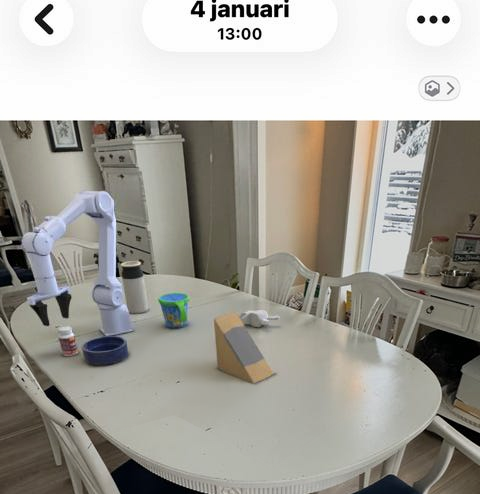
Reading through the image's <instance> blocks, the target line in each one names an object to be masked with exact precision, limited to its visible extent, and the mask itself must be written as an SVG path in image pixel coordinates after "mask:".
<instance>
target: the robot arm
mask: <svg viewBox="0 0 480 494" xmlns="http://www.w3.org/2000/svg"><path fill="white" fill-rule="evenodd" d="M83 214H85V215H87V217H89V218H91V219H92V220H93V221H94V222H95V224H96V225H97V226H98V228H97V229H98V276H97V278H96V279H94V281H93V286H92V287H93V288H92V290H91V298H92V301H93V302H94V303H95V304H96V306H97V307H98V309H99V310H98V311H99V315H100V321H101V325H102V328H100V331H101V332H102V333H103V334H104V336H117V335H121V334H125V333H126V334H127V333H130V332H133V328H132V322H131V316H130V312H129V311H128V308H127V304H125V303H123V302H124V301H125V300H124V299H125V298H124V297H125V294H124V292H123V284H122V283H121V282H120V281H119V280H118V279H117V276H116V275H117V274H116V273H117V268H116V267H117V219H116V215H115V201H114V199H113V198H112V197H111V195H110V194H109V193H108V192H107V191H105V190H100V191H99V190H97V191H93V190H81V191H79V192H78V193H77V194H75V195H74V196H73V199H72V200H71V201H70V202H69V203H68V204H67V205H66V206H65V207H64V209H63V210H61V211H60V213H59V214H57V216H55V215H46V216H45V217H44V221H42V222H41V223H40V224H39V225H38V226H34V227H33V231H30V232H25V234H24V235H23V236H22V239H21V244H20V247H21V249H22V250H23V251H24V252H25V253H26V255H27V259H28V260H29V263H30V266H31V270H32V274H33V278H34V280H35V284H36V285H35V286H36V289H37V292H36V293H34V294H32V295H30V296H27V297H26V300H27V303H28V304H27V305H29V307H30V308H31V310H33V311H34V312H35V314H36V315H37V316H38V318H39V320H40V321H41V323H42V325H43V326H44V327H49V326H51V324H50V319H49V315H48V304H47V303H44V301H47V300H50V299H53V298H55V300H56V302H57V304H58V307H59V310H60V315H61V317H62V318H63V319H66V320H67V319H70V315H69V314H70V305H71V304H70V303H71V300H72V294H71V292H72V291H71V287H70V285H61V286H58V282H57V278H56V274H55V270H54V266H53V263H52V258H51V255H50V253H51V252H52V249H53V246H54V244H55V243H57V241H59V239H61V238H62V237H63V236H64V235H65V234H66V232H67V226H69V225H70V224H71V223H72V222H74V221H75V220H77V219H78V218H79V217H80V216H81V215H83Z"/></svg>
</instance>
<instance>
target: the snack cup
mask: <svg viewBox="0 0 480 494" xmlns="http://www.w3.org/2000/svg"><path fill="white" fill-rule="evenodd" d="M189 302H190V296H189V295H188V294H186V293H184V292H183V293H182V292H172V293H171V292H170V293H166V294H165V293H164V294H163V295H160V296H159V297H158V303H159V305H160V308H161V311H162V315H163V319H164V322H165V325H166V326H167V327H169V328H170V329H179V328H180V329H181V328H183V327H185V326H186V325H188V313H189V312H188V310H189Z"/></svg>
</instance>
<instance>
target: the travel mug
mask: <svg viewBox="0 0 480 494" xmlns="http://www.w3.org/2000/svg"><path fill="white" fill-rule="evenodd" d="M120 266H121V268H122V271H121V279H122V287H123V291H124V297H125V302H126V306H127V308H128V311H129V314H142V313H145V312H148V311H149V306H148V305H149V304H148V298H147V292H146V291H147V290H146V284H145V278H144V271H143V270H142V268H141V261H138V260H130V261H123V262H121V263H120Z"/></svg>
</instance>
